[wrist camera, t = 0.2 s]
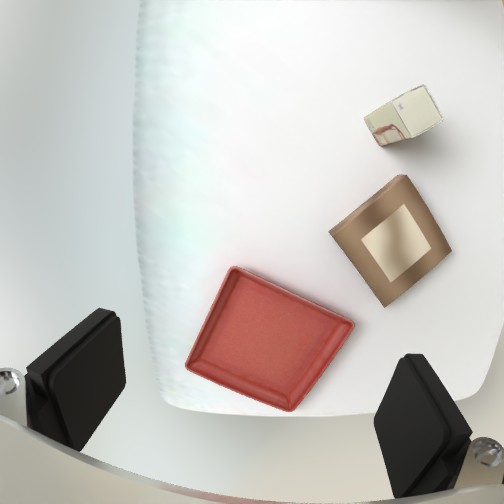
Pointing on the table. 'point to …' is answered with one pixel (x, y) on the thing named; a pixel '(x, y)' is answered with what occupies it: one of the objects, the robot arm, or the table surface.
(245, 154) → the table surface
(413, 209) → the base slab
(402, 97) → the skincare box
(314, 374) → the plant saucer
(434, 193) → the table surface
